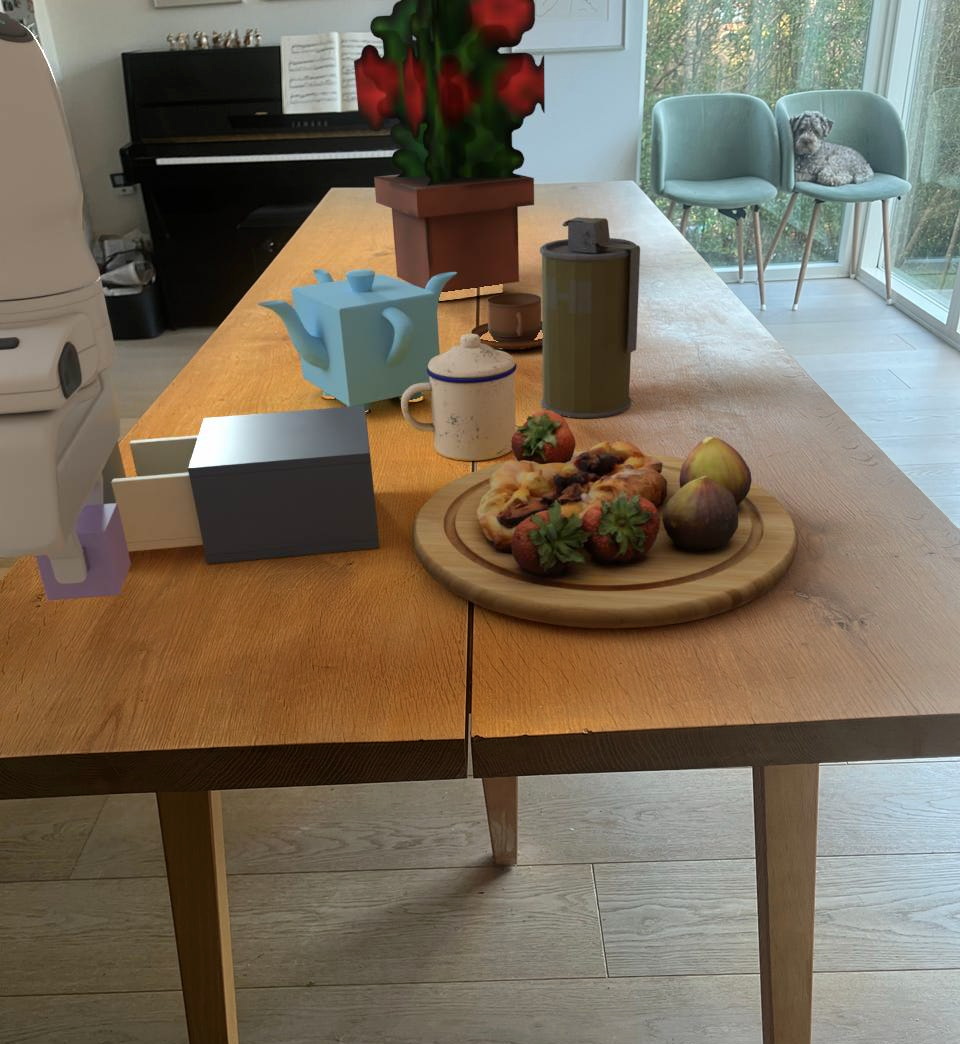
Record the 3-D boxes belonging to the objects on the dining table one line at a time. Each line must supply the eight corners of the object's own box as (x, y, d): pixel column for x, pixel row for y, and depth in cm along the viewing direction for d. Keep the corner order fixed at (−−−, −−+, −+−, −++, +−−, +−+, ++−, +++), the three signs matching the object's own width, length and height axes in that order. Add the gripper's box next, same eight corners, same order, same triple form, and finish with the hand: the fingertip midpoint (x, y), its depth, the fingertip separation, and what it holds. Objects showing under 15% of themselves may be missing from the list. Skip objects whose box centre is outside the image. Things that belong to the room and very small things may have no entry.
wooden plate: (410, 482, 100) (404, 400, 96) (731, 461, 101) (739, 379, 97) (417, 652, 72) (408, 547, 68) (857, 620, 74) (875, 515, 69)
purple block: (47, 601, 63) (29, 536, 61) (62, 569, 67) (46, 507, 65) (119, 595, 64) (105, 531, 62) (131, 564, 68) (117, 502, 65)
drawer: (42, 566, 85) (20, 490, 81) (71, 512, 95) (52, 442, 91) (259, 546, 86) (247, 471, 83) (266, 495, 96) (255, 425, 93)
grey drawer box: (206, 564, 86) (187, 468, 82) (219, 505, 97) (203, 417, 92) (379, 548, 87) (370, 452, 83) (373, 492, 98) (364, 405, 94)
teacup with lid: (507, 428, 112) (504, 320, 106) (527, 457, 104) (525, 342, 98) (399, 440, 110) (390, 331, 104) (411, 470, 102) (402, 354, 96)
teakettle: (422, 426, 114) (413, 290, 106) (267, 418, 118) (248, 287, 111) (465, 376, 130) (459, 255, 122) (327, 371, 134) (313, 253, 126)
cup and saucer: (574, 347, 139) (574, 301, 136) (495, 361, 135) (494, 313, 132) (532, 328, 148) (531, 285, 145) (457, 341, 144) (455, 296, 141)
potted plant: (490, 271, 184) (480, -25, 161) (545, 295, 167) (543, -34, 144) (374, 287, 177) (346, -21, 154) (419, 313, 160) (395, -31, 136)
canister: (523, 410, 117) (520, 224, 107) (570, 385, 124) (571, 209, 114) (607, 425, 112) (612, 231, 101) (650, 398, 119) (659, 215, 109)
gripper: (18, 299, 66) (67, 497, 73) (-91, 395, 49) (-13, 643, 56) (119, 294, 67) (157, 491, 74) (46, 387, 49) (106, 633, 56)
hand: (84, 558), depth 65 cm, fingers closed on purple block, 4 cm apart
